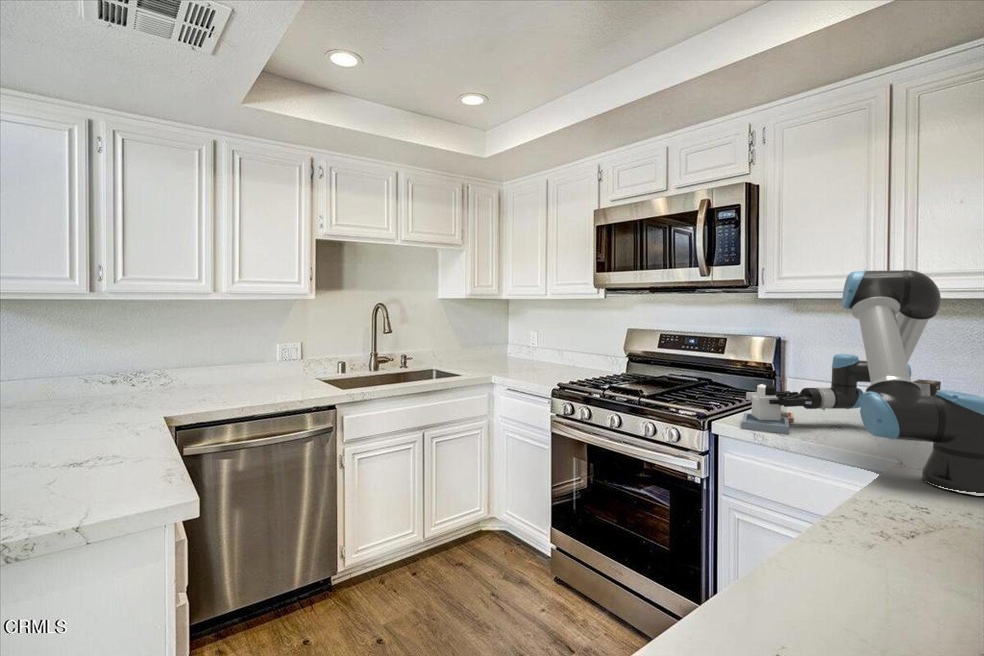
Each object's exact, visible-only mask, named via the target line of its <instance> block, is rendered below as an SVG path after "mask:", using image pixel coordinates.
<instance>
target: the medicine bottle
mask: <svg viewBox="0 0 984 656" xmlns="http://www.w3.org/2000/svg"><path fill="white" fill-rule="evenodd" d="M756 388H757V389H756V392H757V396H752V400H751V414H752V416H754V417H756V418H757V419H759V420H780V417H781V410H782V406H780V405H779V404H778V405H758V401H759V397H776V391H777V386H776V385H773V384H769V383H761V384H757V387H756Z"/></svg>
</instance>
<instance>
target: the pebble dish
mask: <svg viewBox="0 0 984 656" xmlns="http://www.w3.org/2000/svg"><path fill="white" fill-rule="evenodd" d="M786 412H787V413H788V420H789V424H790V423H794V422H795V417H794V412H790V411H786ZM794 424H795V423H794Z"/></svg>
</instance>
